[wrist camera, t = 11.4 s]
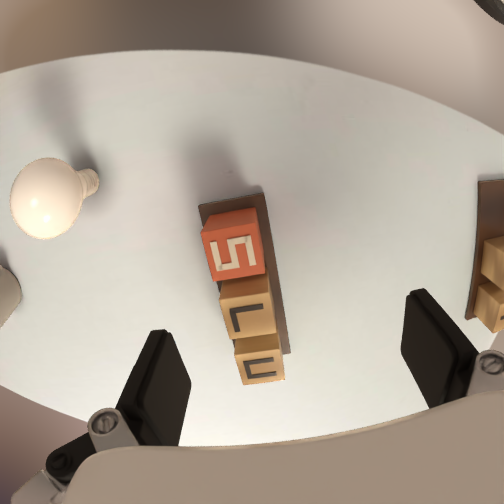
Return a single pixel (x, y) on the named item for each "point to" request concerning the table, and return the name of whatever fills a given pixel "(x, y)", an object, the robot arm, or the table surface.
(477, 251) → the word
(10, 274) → the cup
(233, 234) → the tile
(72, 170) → the lightbulb
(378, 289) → the table surface
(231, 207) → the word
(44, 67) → the table surface
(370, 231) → the table surface
